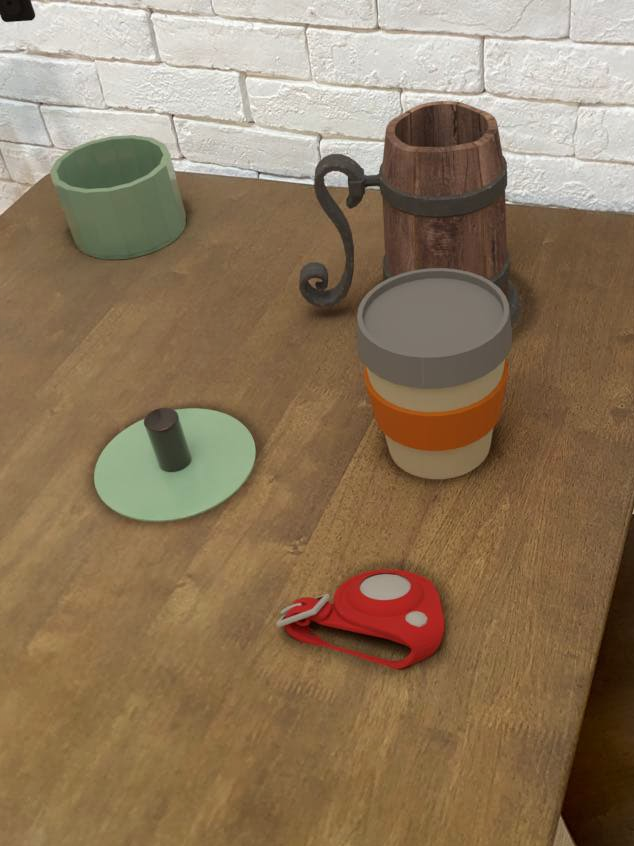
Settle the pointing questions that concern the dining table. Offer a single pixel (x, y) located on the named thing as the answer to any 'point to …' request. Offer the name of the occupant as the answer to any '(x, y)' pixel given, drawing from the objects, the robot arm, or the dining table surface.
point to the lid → (174, 464)
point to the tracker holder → (375, 613)
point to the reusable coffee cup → (435, 367)
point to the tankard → (428, 200)
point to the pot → (120, 196)
